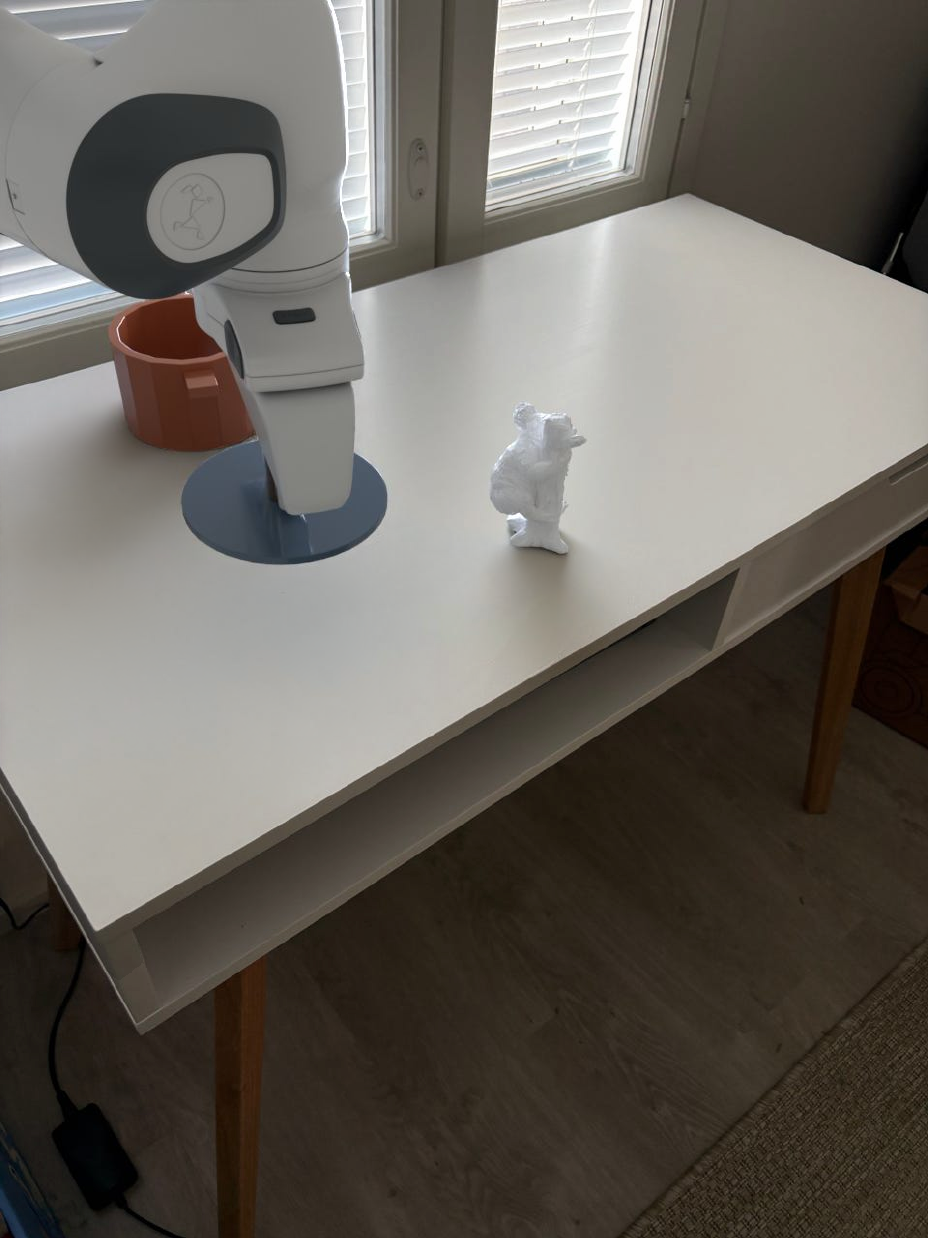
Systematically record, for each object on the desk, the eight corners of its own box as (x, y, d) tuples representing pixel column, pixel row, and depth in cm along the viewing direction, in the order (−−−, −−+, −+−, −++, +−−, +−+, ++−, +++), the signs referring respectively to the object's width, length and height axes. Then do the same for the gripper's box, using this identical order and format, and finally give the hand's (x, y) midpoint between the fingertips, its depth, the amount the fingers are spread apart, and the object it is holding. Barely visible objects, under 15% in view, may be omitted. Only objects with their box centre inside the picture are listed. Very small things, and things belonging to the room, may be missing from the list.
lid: (201, 589, 62) (192, 528, 59) (169, 466, 71) (159, 407, 68) (413, 552, 66) (415, 493, 63) (356, 440, 75) (356, 383, 72)
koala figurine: (594, 556, 80) (618, 427, 72) (518, 575, 78) (533, 443, 70) (547, 496, 86) (564, 370, 78) (474, 512, 84) (484, 383, 76)
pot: (138, 478, 85) (120, 389, 79) (115, 372, 97) (98, 288, 91) (286, 456, 88) (280, 369, 82) (247, 357, 100) (238, 274, 94)
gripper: (187, 221, 64) (209, 411, 73) (252, 382, 50) (269, 591, 59) (286, 214, 66) (295, 401, 75) (374, 367, 52) (373, 573, 61)
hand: (284, 486), depth 67 cm, fingers closed on lid, 2 cm apart
